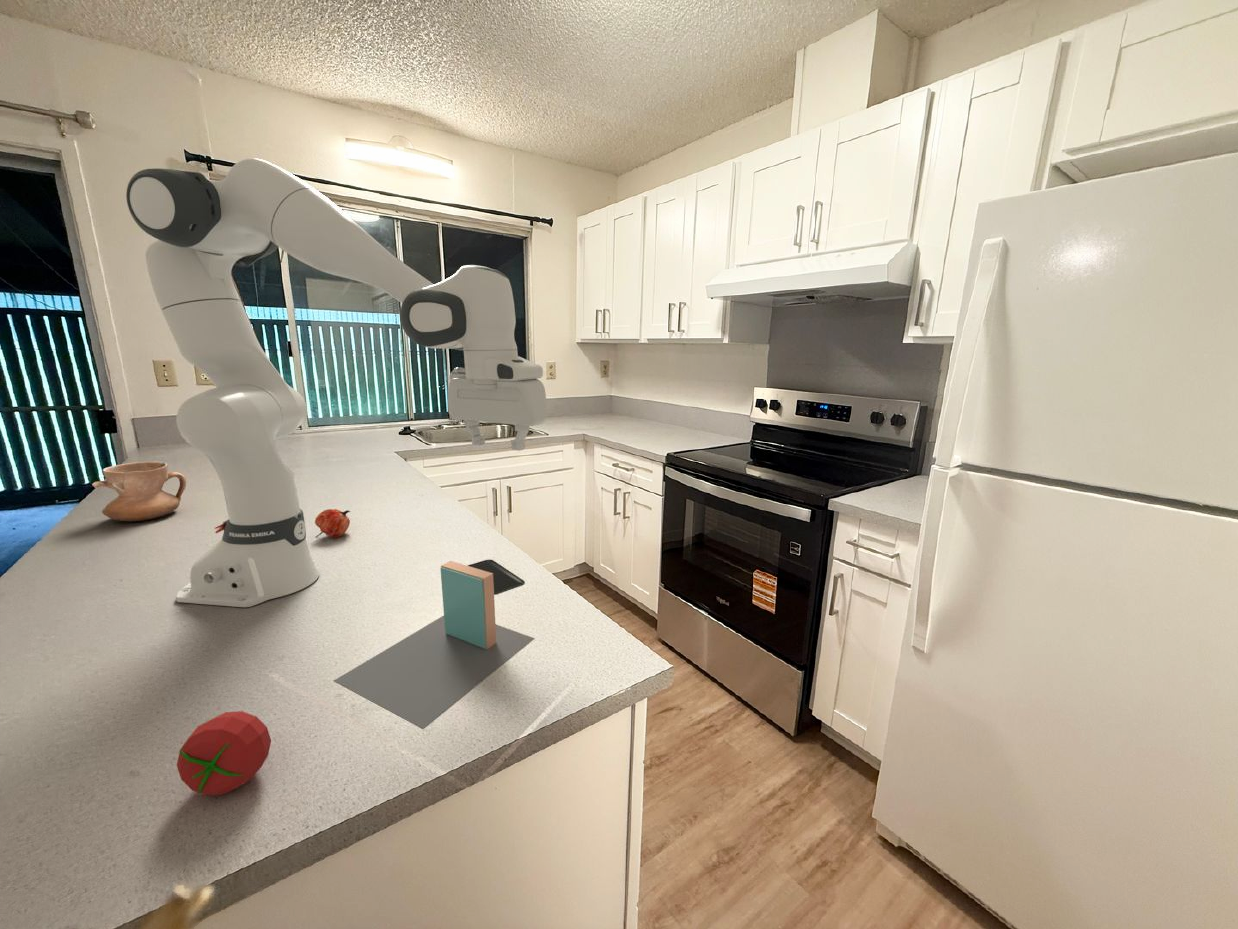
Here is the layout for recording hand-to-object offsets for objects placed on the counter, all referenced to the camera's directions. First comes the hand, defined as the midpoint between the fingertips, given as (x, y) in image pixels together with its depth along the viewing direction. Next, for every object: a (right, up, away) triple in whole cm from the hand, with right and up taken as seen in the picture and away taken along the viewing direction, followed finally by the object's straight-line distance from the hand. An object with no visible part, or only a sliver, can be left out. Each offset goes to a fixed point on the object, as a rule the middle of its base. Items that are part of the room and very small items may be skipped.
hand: (498, 447), depth 86 cm
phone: (-5, -27, +14) cm, 31 cm away
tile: (-3, -31, -8) cm, 32 cm away
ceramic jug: (-107, -17, +46) cm, 118 cm away
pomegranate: (-50, -21, +34) cm, 64 cm away
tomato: (-21, -38, -33) cm, 54 cm away
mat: (-5, -33, -13) cm, 36 cm away
